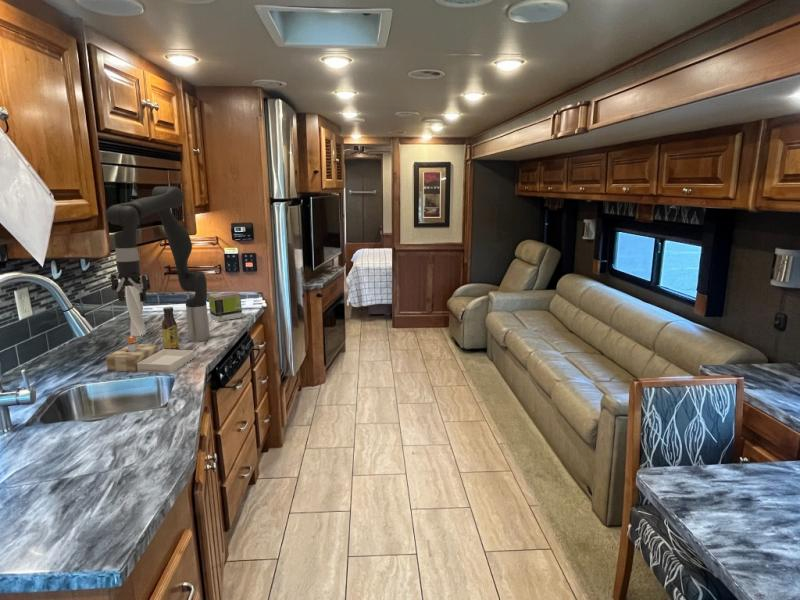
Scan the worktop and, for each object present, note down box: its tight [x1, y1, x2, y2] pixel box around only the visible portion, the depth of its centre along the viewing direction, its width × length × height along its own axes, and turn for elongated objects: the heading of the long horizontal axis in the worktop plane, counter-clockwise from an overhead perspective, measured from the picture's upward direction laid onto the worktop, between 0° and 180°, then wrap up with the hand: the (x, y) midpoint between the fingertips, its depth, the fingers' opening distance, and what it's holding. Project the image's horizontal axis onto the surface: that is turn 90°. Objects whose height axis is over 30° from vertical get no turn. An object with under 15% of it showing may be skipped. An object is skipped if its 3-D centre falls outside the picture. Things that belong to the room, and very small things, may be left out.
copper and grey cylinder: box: [126, 335, 138, 352], centre depth 197 cm, size 3×3×12 cm
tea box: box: [207, 290, 243, 322], centre depth 269 cm, size 15×10×15 cm, turn 130°
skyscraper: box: [124, 284, 148, 337], centre depth 236 cm, size 8×8×28 cm
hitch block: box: [105, 343, 160, 373], centre depth 198 cm, size 16×12×6 cm
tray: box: [137, 348, 195, 374], centre depth 198 cm, size 18×14×4 cm
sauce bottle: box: [161, 306, 180, 350], centre depth 214 cm, size 7×6×20 cm
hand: (132, 301), depth 183 cm, fingers open, 8 cm apart
